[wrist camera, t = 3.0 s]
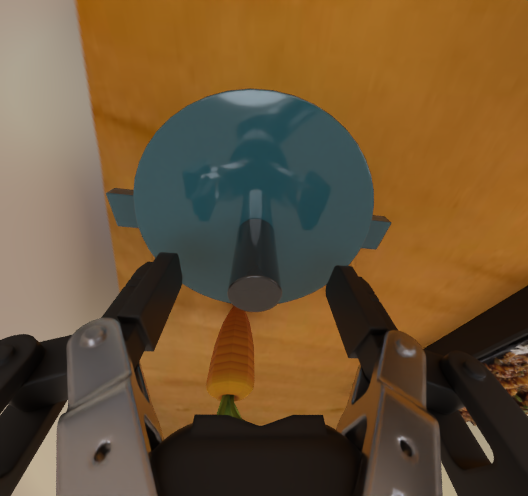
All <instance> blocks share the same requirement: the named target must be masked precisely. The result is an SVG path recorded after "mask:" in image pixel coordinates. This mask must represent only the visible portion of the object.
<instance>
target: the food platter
mask: <svg viewBox="0 0 528 496" xmlns="http://www.w3.org/2000/svg"><path fill="white" fill-rule="evenodd" d="M425 350H428V351H431V352H434V353H437V354H440V355H443V356H446V355H447V354H448V353H450V352H451V351H454V350H457V351H462V352H465V353H467V354H469V355H471V356H473V357H474V358H476V359H477V360H479V361H480V362H481V363H482V364H484V365H485V366H486V367H487V368H488V369H489V370H490V371H491V373H492V374H493V375H494V376H495V377H496V379H497V380H498V381H499V382H500V384H501V385H502V386H503V387H504V388H505V390H506V391H507V392H508V393H509V394H510V396H511V397H512V398H513V399H514V400H515V402H516V403H517V404H518V405H519V406H520V408H521V409H522V410H523V411H524V412H525V414H528V286H527V287H525V288H524V289H522V290H520V291H519V292H517V293H515V294H514V295H512V296H510V297H509V298H507V299H505V300H504V301H502V302H501V303H499V304H497V305H496V306H494V307H492V308H491V309H489V310H487V311H486V312H484V313H482V314H481V315H479V316H478V317H476V318H474V319H473V320H471V321H469V322H468V323H466V324H464V325H463V326H461V327H459V328H458V329H456V330H454V331H453V332H451V333H450V334H448V335H446V336H445V337H443V338H441V339H440V340H438V341H436V342H435V343H433V344H431V345H430V346H428V347H427V348H425ZM458 411H459V412H460V414H461V416H462V417H463V419H464V421H465V422H468V421H470V422H471V423H472V424H473V425H474V426H476V423H475V422H474V420H473V419H472V417H471V416H470V414H469V413H468V411H467V410H466V408H465V407H464V408H462V409H459V410H458Z"/></svg>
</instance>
